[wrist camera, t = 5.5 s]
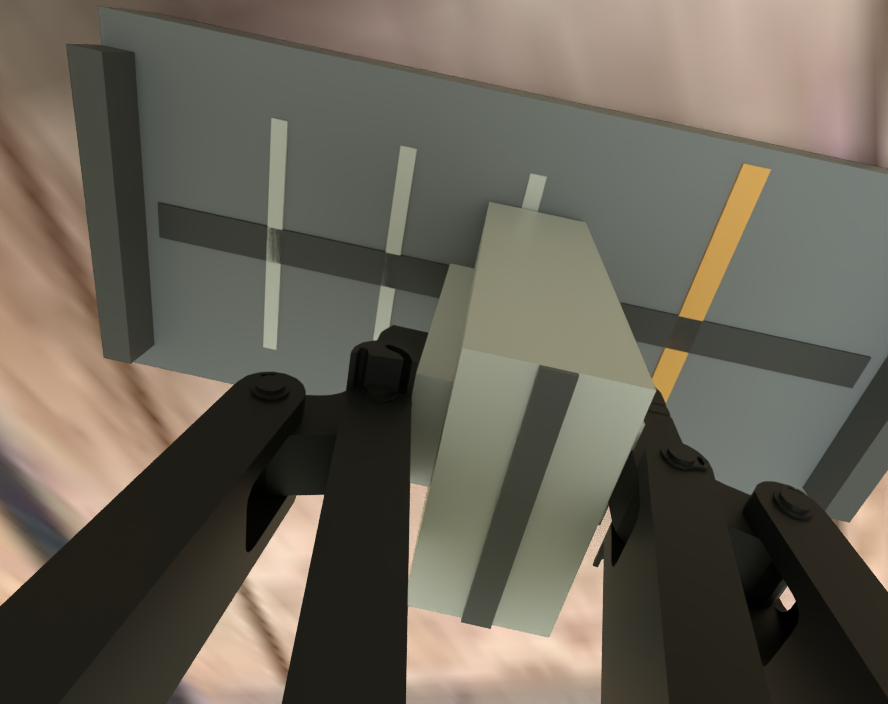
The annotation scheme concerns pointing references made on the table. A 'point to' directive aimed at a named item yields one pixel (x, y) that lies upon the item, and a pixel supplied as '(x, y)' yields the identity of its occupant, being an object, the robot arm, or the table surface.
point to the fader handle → (528, 427)
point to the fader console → (476, 235)
